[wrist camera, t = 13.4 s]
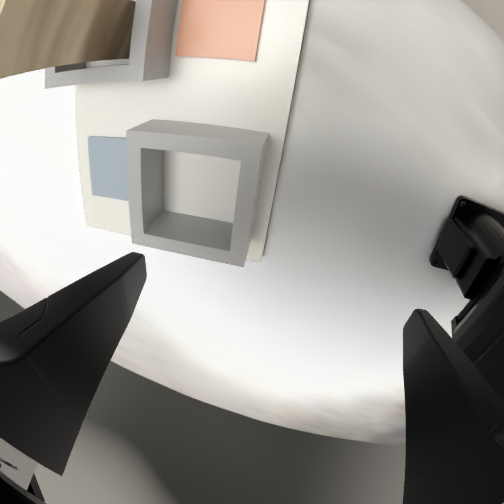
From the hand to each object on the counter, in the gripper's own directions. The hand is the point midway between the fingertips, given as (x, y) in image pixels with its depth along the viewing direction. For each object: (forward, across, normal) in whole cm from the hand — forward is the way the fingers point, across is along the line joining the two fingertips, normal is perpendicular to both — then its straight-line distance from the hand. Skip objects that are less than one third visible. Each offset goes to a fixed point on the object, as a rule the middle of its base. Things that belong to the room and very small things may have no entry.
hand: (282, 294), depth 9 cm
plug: (+12, +13, -9) cm, 20 cm away
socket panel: (+13, +9, -3) cm, 16 cm away
